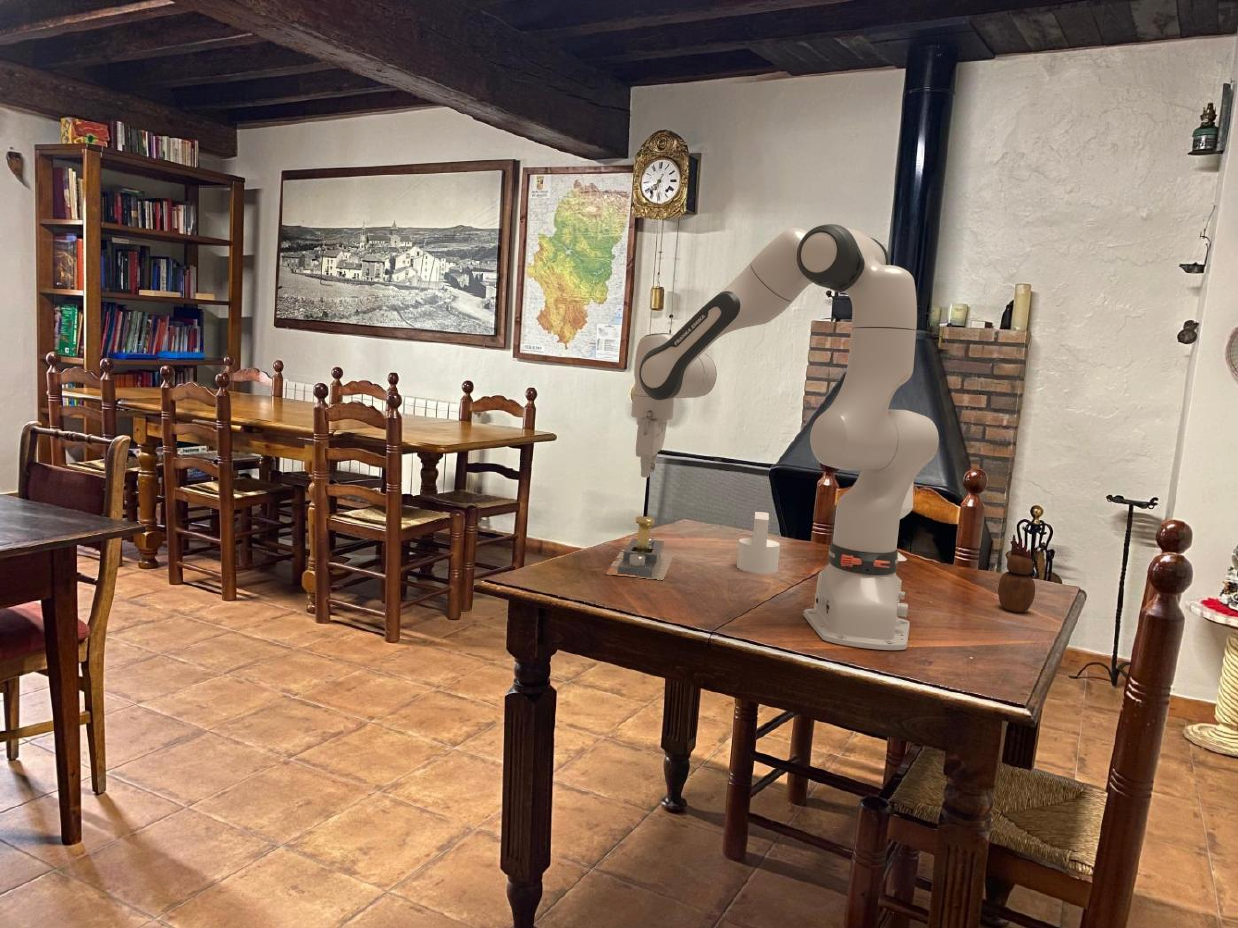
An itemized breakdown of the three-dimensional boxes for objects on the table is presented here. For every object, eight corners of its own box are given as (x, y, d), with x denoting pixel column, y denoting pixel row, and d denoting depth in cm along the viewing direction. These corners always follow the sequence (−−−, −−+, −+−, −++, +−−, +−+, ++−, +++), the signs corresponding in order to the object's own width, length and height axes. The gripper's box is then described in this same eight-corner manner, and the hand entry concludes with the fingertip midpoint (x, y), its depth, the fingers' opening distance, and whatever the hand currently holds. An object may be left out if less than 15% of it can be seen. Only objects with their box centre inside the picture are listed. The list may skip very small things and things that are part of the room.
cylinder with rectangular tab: (777, 575, 195) (782, 521, 193) (736, 571, 196) (740, 517, 194) (777, 566, 203) (782, 514, 202) (737, 561, 205) (741, 510, 203)
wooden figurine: (990, 605, 182) (999, 533, 180) (1012, 604, 184) (1021, 532, 182) (1015, 615, 175) (1025, 540, 173) (1038, 614, 177) (1048, 540, 175)
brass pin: (649, 566, 193) (653, 521, 192) (631, 564, 194) (635, 519, 192) (651, 562, 197) (655, 517, 196) (633, 559, 198) (637, 515, 196)
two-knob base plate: (663, 581, 183) (664, 560, 183) (605, 574, 185) (606, 554, 184) (673, 556, 206) (675, 537, 205) (622, 550, 208) (623, 532, 207)
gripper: (661, 413, 180) (657, 481, 182) (671, 408, 200) (667, 469, 202) (630, 411, 181) (626, 479, 183) (643, 406, 201) (639, 467, 203)
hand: (648, 474), depth 193 cm, fingers open, 8 cm apart
